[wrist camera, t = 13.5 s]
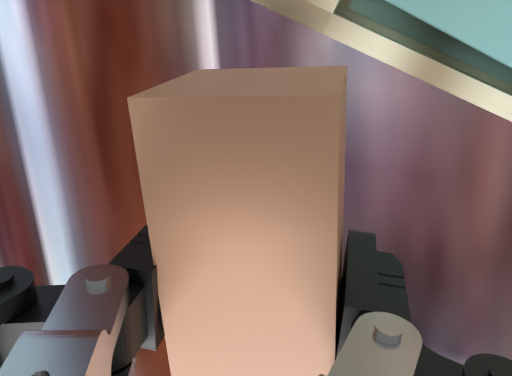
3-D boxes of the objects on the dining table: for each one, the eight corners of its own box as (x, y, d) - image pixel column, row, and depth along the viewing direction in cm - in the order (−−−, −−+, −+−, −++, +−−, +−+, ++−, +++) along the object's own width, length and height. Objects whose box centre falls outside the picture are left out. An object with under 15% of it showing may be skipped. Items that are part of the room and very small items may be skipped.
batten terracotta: (197, 70, 12) (127, 98, 9) (346, 65, 11) (339, 95, 8) (225, 358, 16) (184, 462, 12) (339, 372, 15) (332, 489, 11)
